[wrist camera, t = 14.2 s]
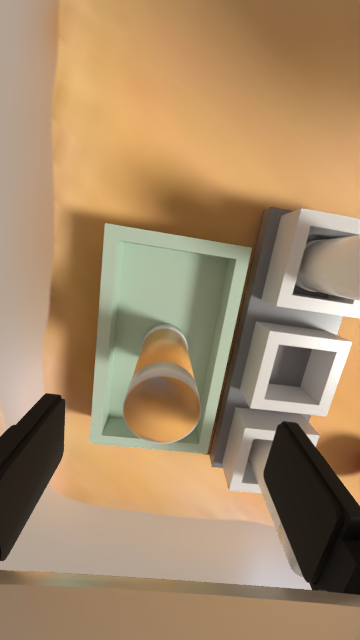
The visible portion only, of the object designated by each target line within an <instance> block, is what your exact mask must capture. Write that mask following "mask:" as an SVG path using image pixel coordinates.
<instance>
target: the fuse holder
mask: <svg viewBox="0 0 360 640" xmlns="http://www.w3.org/2000/svg"><path fill="white" fill-rule="evenodd" d="M359 235H360V219H358V218H352V217H347V216H342V215H336V214H331V213H326V212H320V211H315V210H309V209H304V208H300V209H298V210H295V211H289V210H283V209H278V208H272V207H271V208H269V209H267V210H265V211H264V212H263V217H262V221H261V226H260V230H259V235H258V239H257V244H256V248H255V253H254V257H253V262H252V266H251V271H250V275H249V280H248V284H247V289H246V294H245V298H244V303H243V307H242V312H241V316H240V321H239V325H238V330H237V334H236V339H235V343H234V348H233V352H232V357H231V361H230V366H229V370H228V375H227V380H226V384H225V389H224V393H223V398H222V402H221V407H220V411H219V416H218V420H217V425H216V429H215V434H214V438H213V443H212V447H211V452H210V459H211V464H212V467H219V468H223V469H224V473H225V477H226V481H227V485H228V488H229V491H241V492H255V493H262V492H261V490H260V487H259V485H258V482H257V480H256V477H255V475H254V472H253V470H252V467H251V465H250V462H249V461H248V457H249V453H250V450H251V446H252V442H253V439H263V440H273V439H274V435H275V432H276V429H277V426H278V425H279V424H281V423H282V422H283V421H288V422H296V423H298V424H299V426H300V427H301V428H302V430H303V431H304V432H305V434H306V435H307V436H308V438H309V439H310V440H311V442H312V443H313V444H314V446H315V447H316V445H317V442H318V439H319V436H320V435H319V434H318V433H317V432H316V431H315V429H314V428H313V427H312V426H311V425H310V424H309V422H308V421H309V418H310V415H318V416H327V413H328V410H329V407H330V405H331V402H332V399H333V396H334V393H335V390H336V387H337V385H338V382H339V379H340V376H341V373H342V370H343V367H344V365H345V362H346V359H347V356H348V353H349V350H350V347H351V344H352V342H351V341H349V340H346V339H344V338H342V337H340V336H337V334H338V330H339V327H340V324H341V321H342V318H343V316H347V317H354V318H360V301H358V300H354V299H349V298H344V297H339V296H335V295H330V294H325V293H321V292H313V291H308V290H304V289H300V288H297V287H295V283H296V279H297V275H298V272H299V268H300V264H301V261H302V257H303V253H304V249H305V246H306V242H308V241H315V240H323V239H327V240H328V239H335V238H343V237H351V236H359Z"/></svg>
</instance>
